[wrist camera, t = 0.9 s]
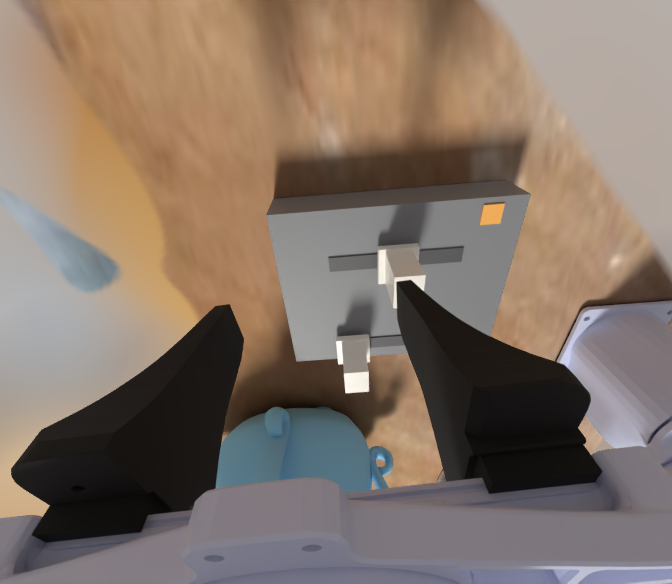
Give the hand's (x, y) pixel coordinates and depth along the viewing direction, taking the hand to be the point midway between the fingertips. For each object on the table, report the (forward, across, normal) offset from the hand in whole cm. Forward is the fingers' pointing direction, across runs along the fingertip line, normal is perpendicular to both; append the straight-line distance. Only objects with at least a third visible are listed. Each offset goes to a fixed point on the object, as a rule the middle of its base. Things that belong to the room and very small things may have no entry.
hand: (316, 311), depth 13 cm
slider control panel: (+9, -5, +4) cm, 11 cm away
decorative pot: (+10, +6, +25) cm, 27 cm away
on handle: (+6, -1, +8) cm, 10 cm away
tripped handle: (+6, -5, +2) cm, 8 cm away
